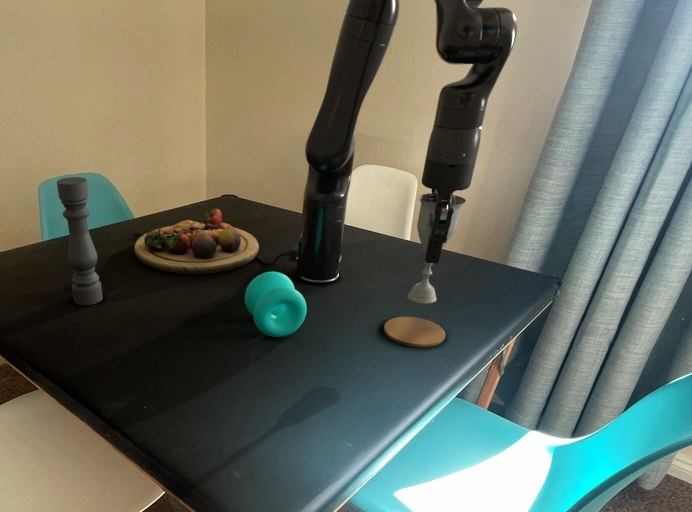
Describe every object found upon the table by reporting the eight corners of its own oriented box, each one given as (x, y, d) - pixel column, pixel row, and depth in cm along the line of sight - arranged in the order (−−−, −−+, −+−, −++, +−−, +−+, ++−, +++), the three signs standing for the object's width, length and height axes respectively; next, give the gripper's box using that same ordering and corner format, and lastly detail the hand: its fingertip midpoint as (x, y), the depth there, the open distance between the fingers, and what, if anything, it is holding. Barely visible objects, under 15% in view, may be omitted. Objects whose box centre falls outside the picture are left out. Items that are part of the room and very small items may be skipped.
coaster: (382, 342, 102) (383, 339, 101) (384, 316, 111) (385, 313, 110) (446, 350, 99) (447, 348, 99) (443, 323, 108) (443, 320, 108)
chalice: (442, 292, 103) (464, 194, 93) (443, 307, 97) (467, 206, 88) (401, 287, 105) (419, 191, 95) (400, 302, 99) (418, 202, 90)
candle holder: (108, 295, 121) (94, 178, 107) (91, 307, 116) (75, 186, 103) (84, 290, 123) (68, 175, 110) (67, 302, 118) (48, 183, 105)
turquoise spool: (290, 313, 112) (294, 267, 107) (306, 337, 104) (310, 288, 99) (242, 317, 111) (243, 271, 106) (254, 342, 102) (256, 293, 97)
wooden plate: (185, 224, 162) (184, 195, 157) (281, 245, 146) (283, 214, 141) (108, 257, 140) (104, 225, 135) (210, 287, 124) (210, 252, 119)
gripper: (424, 146, 95) (407, 240, 104) (428, 164, 83) (408, 269, 92) (471, 148, 93) (450, 244, 102) (482, 167, 81) (456, 273, 90)
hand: (430, 255), depth 97 cm, fingers closed on chalice, 6 cm apart
